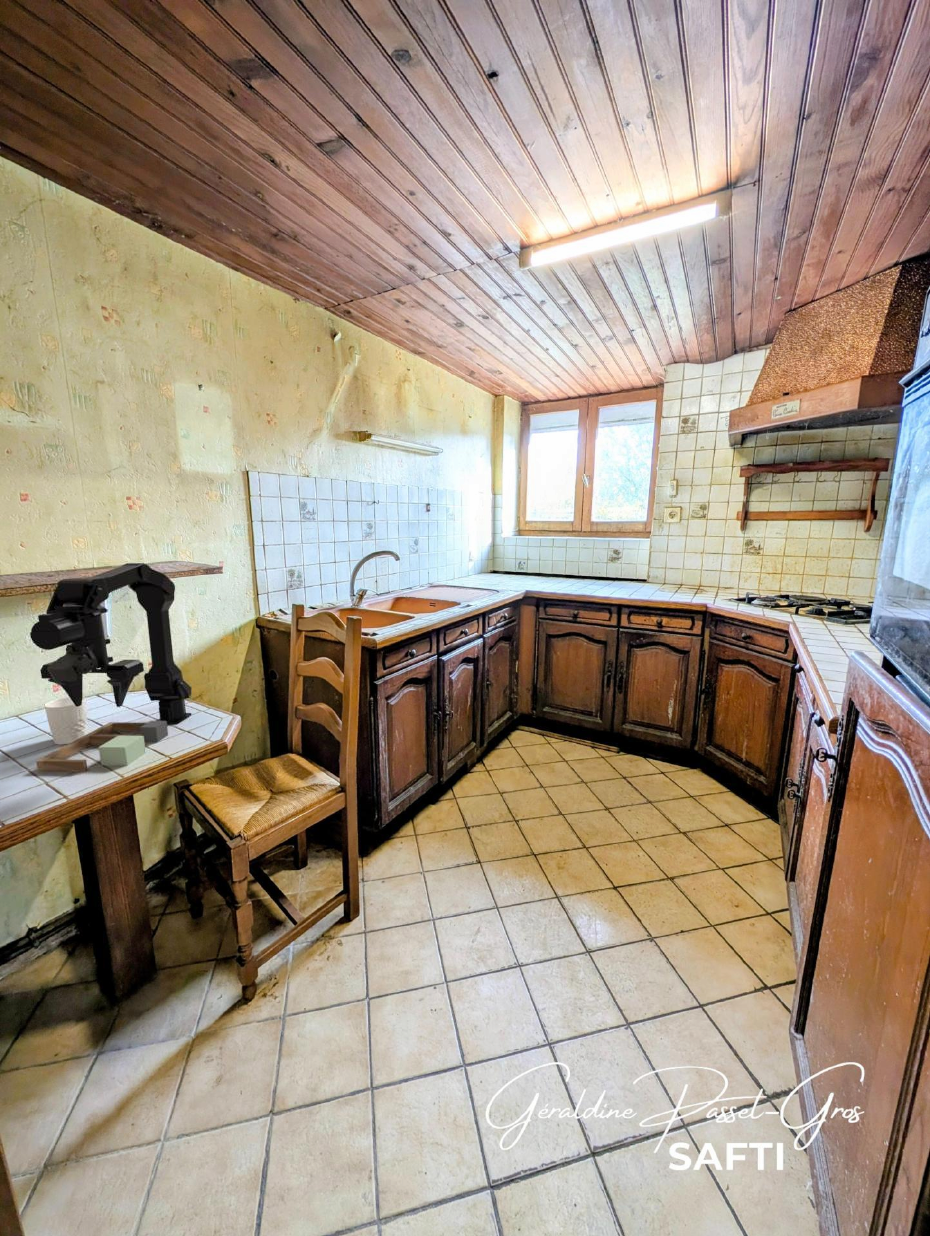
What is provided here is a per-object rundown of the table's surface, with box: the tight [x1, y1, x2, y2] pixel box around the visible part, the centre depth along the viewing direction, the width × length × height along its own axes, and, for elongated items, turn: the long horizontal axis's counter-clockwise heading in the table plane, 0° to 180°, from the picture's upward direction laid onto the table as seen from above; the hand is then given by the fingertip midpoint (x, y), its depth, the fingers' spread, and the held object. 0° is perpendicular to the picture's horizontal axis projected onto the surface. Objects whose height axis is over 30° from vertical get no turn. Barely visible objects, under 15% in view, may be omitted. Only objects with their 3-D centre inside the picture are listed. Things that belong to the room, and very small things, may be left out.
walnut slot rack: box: [35, 721, 147, 773], centre depth 114 cm, size 21×10×2 cm, turn 179°
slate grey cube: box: [140, 720, 169, 743], centre depth 120 cm, size 4×4×4 cm
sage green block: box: [98, 735, 147, 766], centre depth 109 cm, size 6×6×4 cm
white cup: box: [44, 696, 89, 746], centre depth 119 cm, size 8×8×10 cm
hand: (99, 706), depth 104 cm, fingers open, 9 cm apart
